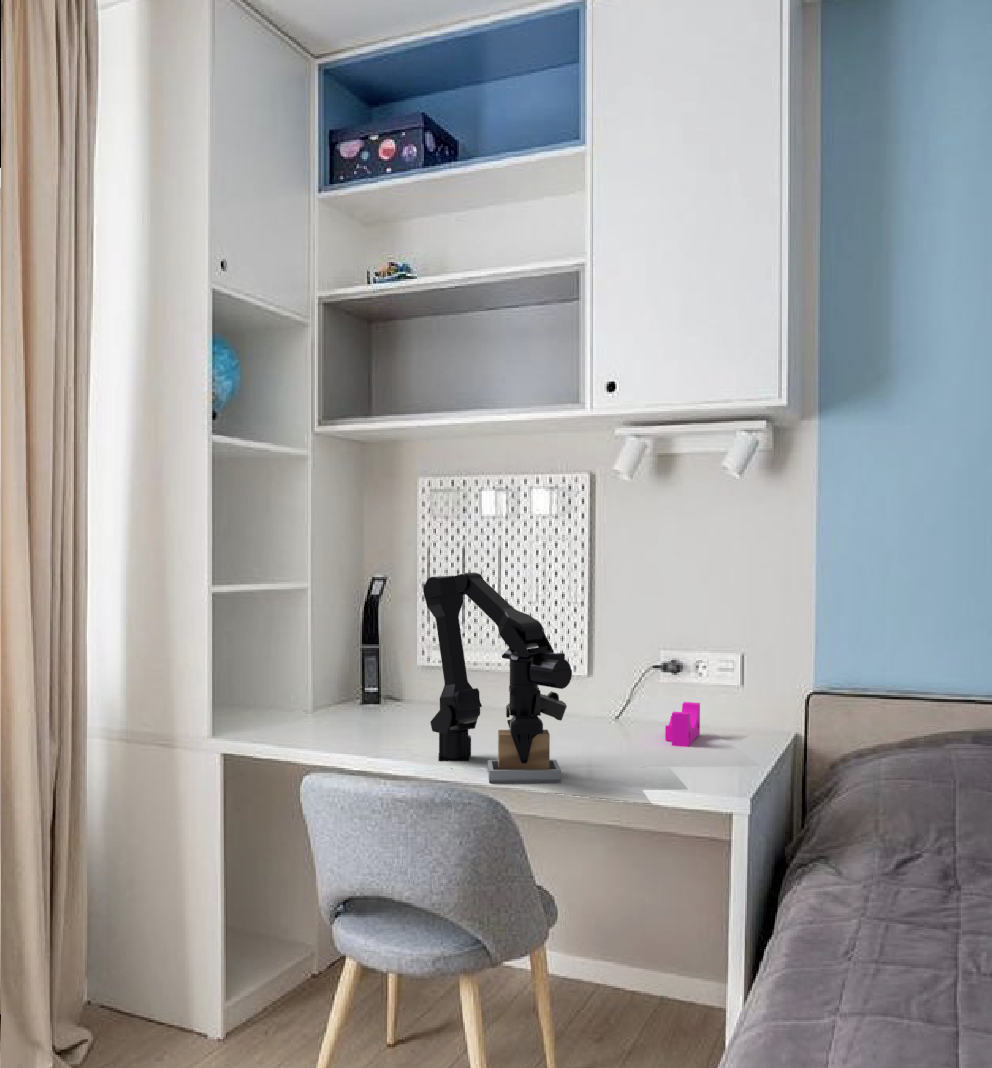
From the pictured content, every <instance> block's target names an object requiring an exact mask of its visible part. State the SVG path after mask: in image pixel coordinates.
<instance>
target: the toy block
mask: <svg viewBox="0 0 992 1068" xmlns="http://www.w3.org/2000/svg"><path fill="white" fill-rule="evenodd" d="M681 705H682V706H681V711H673V712H672V713H671V716H670V718H669V722H668V725H665V728H664V730H665V732H664V733H665V736H664V737H665V741H667V742H668V741H669V742H671V746H672V747H685V748H688V747H689V746H691V744H692V743H693V742H694V740H696V739H697V737H698V736H700V734H701V733H700V732H701V722H700V721H701V703H700V702H691V701H684V702H683V703H682V704H681Z"/></svg>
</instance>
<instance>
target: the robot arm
mask: <svg viewBox="0 0 992 1068" xmlns="http://www.w3.org/2000/svg"><path fill="white" fill-rule="evenodd" d="M422 590H423V591H422V592H423V596H424V599H425V600H424V601H425V604H426V608H427V609H428V610H429V612H430V613H431V614H432V616H433V617H434V618H435V622H436V623H435V624H436V630H437V636H438V644H439V651H440V652H439V653H440V659H441V667H442V673H443V681H444V686H443V688H442V691H441V693H440V696H439V710H438V711H437V713H436V714H435V716H433V718H432V719H431V721H430V726H431V731H432V732H433V733H438V759H437V760H438V762H469V761H470V758H471V757H472V736H471V735H470V734H469V730H474V729H476V726H477V722H478V718H479V716H480V715H481V708H482V707H483V706H482V703H481V699H480V698H481V697H480V690H479V688H478V687H476V688H475V687H474V688H473V686H472V685H471V684H470V682H469V681H468V674H467V667H466V661H465V654H464V653H465V652H464V646H463V637H462V632H461V631H462V630H461V625H460V618H459V616H460V615H459V614H460V612H461V609H462V606H463V604H464V596H467V597H468V598H469V599H470V600H471V601H472V602H473V603H474V604H475V605H476V606H477V607H478V608H479V609H480V610H481V611H482V612H483V613H484V614H485V615H487V617H488V618H489V619H490V620H491V621H492V622H493V623H495V626H496V627H497V629H498V633H499V636H500V638H501V639H502V640H503V641H504V643H505V644H506V646H507V647H508V648H507V650H506V651H505V652H504V653H503V654H502V655H501V658H502V659H505V660H509V685H508V692H509V703H508V704H507V705H506V706H505V716H506V718H510V716H511V719H507V720H506V721H507V724H508V728H509V730H510V733H511V736H512V738H513V741H514V744H515V746H516V749H517V752H518V755H519V757H520V760H521V763H527V761H528V757H529V752H530V748H531V744H532V740H533V738H534V737H535V736H536V735H538V734H542V733H543V730H544V723H543V721H542V719H541V718H540V716H541V715H542V714H544V715H547V716H550V718H551V717H552V718H554V719H555V720H556V721H560V722H561V721H562V720H563V719H564V715H565V712H566V710H567V706H568V705H567V704H566V702H564V701H563V700H560V699H559V698H560V697H559V696H560V695H559V693H557V692H555V691H549V692H548V694H543V693H541V689H540V687H539V686H542V687H548V688H552V689H553V688H555V689H561V690H563V689H565V688H567V687H568V686H569V684H570V682H571V681H572V675H573V669H572V668H571V665H570V662H569V661H568V660H567V659H566V654H565V653H564V652H557V653H556V652H555V650H554V648H553V647H552V645H551V643H550V641H549V639H548V637H547V636H546V633H545V632H544V627H543V625H542V623H541V622H540V621H539V620H538V619H536V618H534V617H532V616H531V615H529V613H528V614H527V613H526V612H525V613H524V612H522V611H519V610H518V609H515V608H514V607H513V606H512V605H511V604H510V603H509V602H508V601H507V600H506V599H505V598H503V596H502V595H500V594H499V593H498V592H497V591H496V590H495V588H493V587H492V586H491V585H490V584H489V583H488V582H486V580H484V578H483V576H482V574H480V573H478V572H462V573H460V574H457V575H442V576H441V575H440V576H430V577H428V578H427V580H426V582H425V583H424V584H423V589H422Z"/></svg>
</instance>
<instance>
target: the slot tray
mask: <svg viewBox="0 0 992 1068" xmlns="http://www.w3.org/2000/svg"><path fill="white" fill-rule="evenodd" d="M487 775H488V783H489V784H525V783H526V784H534V783H536V784H537V783H538V784H539V783H540V784H541V783H543V784H545V783H562V769H561V768H560V765H559V762H558V761H557V759H550V760H549V769H531V770H499V766H498V759H488V760H487Z"/></svg>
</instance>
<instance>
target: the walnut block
mask: <svg viewBox="0 0 992 1068" xmlns="http://www.w3.org/2000/svg"><path fill="white" fill-rule="evenodd" d="M497 732H498V733H497V735H498V736H497V738H498V739H497V747H498V748H497V750H498V751H497V760H498V766H499V770H531V769H549V760H551V759H550V743H551V742H550V741H551V739H550V737H551V734H550V732H549V730H548V729H543V733H542V734H538V735H536V736H535V737H534V738H533V740H532V744H531V748H530V752H529V757H528V761H527V763H521V760H520V757H519V755H518V752H517V749H516V746H515V744H514V741H513V738H512V736H511V733H510V729H498V731H497Z"/></svg>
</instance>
